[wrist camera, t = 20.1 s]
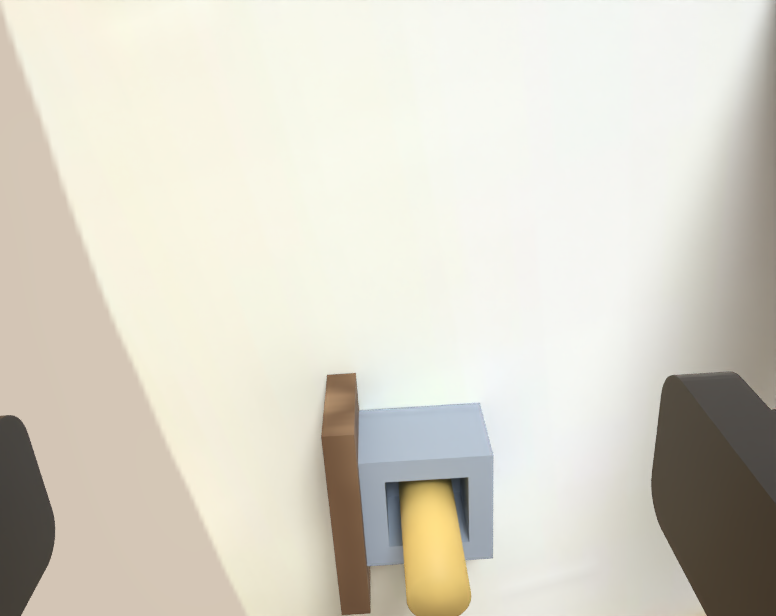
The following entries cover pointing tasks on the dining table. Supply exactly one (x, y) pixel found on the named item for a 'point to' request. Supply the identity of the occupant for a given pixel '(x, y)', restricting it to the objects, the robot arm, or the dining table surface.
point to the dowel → (433, 549)
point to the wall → (345, 491)
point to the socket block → (424, 473)
